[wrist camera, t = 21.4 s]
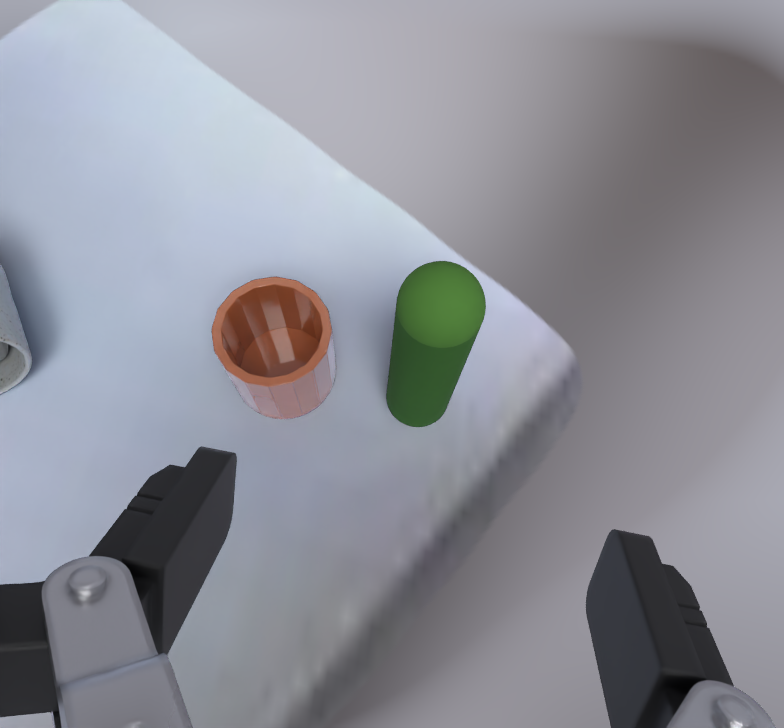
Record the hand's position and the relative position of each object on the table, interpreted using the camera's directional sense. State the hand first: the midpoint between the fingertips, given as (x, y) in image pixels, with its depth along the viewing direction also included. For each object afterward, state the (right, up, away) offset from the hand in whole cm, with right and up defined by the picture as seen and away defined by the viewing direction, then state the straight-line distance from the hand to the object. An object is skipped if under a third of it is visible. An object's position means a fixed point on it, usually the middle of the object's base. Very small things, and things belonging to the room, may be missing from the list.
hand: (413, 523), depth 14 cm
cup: (-7, +3, +27) cm, 28 cm away
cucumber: (+1, +1, +27) cm, 27 cm away
